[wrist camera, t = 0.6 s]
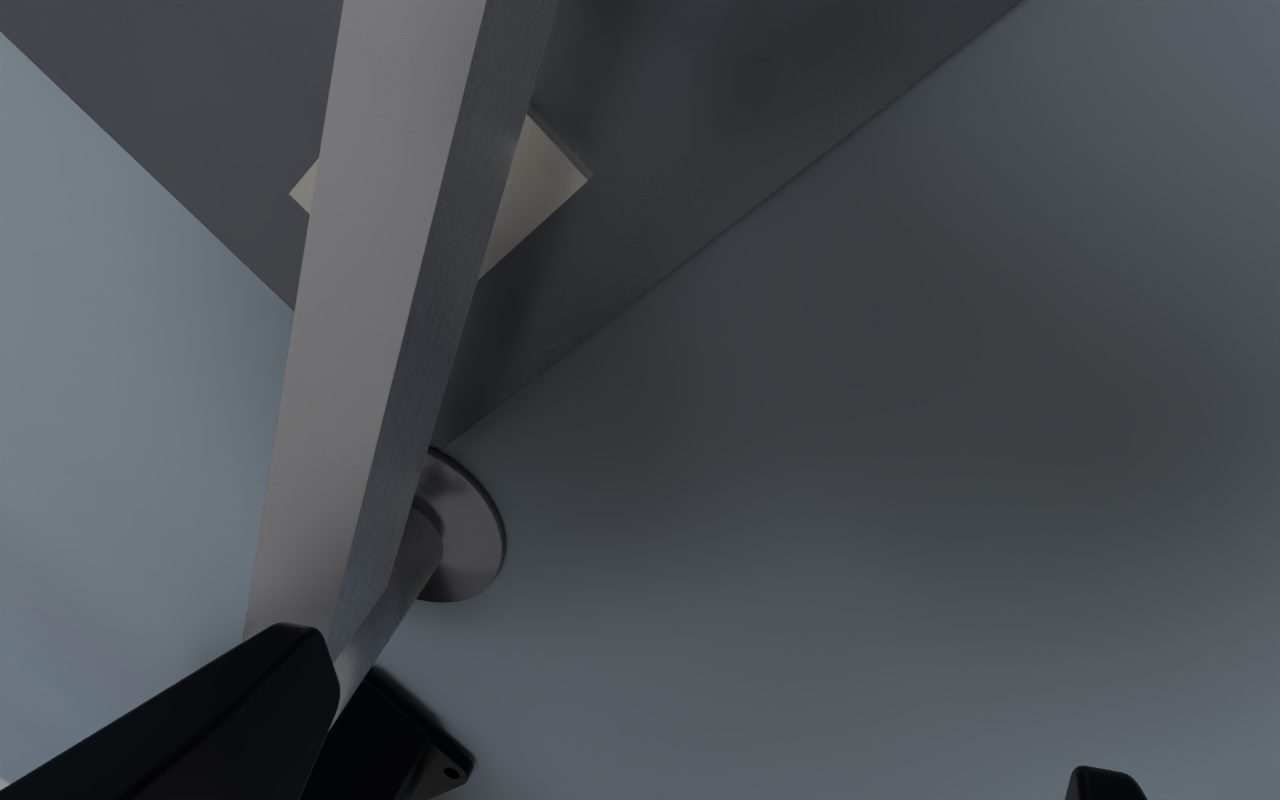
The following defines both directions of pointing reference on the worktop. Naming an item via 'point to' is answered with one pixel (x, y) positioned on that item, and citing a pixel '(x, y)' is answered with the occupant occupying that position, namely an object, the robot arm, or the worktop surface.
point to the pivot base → (459, 529)
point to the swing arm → (386, 307)
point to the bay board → (546, 151)
